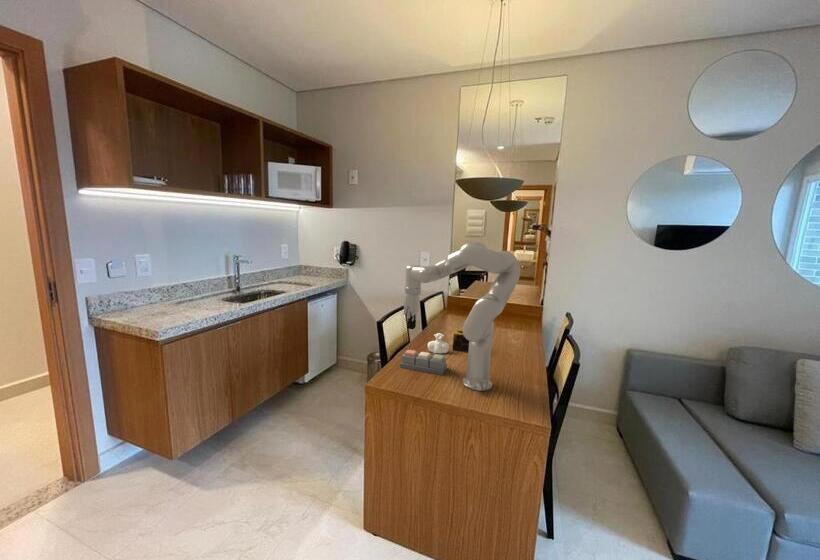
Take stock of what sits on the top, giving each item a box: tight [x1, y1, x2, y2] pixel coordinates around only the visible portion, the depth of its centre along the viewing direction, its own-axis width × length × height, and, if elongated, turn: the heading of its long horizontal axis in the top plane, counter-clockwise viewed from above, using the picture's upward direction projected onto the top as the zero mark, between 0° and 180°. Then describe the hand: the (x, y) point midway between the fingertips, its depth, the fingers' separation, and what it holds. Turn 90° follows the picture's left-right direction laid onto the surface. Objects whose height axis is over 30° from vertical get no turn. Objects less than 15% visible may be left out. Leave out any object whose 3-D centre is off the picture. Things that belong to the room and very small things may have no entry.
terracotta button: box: [404, 349, 417, 357], centre depth 164 cm, size 4×4×3 cm
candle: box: [451, 328, 469, 353], centre depth 190 cm, size 10×10×10 cm
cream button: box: [418, 351, 431, 360], centre depth 162 cm, size 4×4×3 cm
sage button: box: [432, 353, 445, 362], centre depth 159 cm, size 4×4×3 cm
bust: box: [427, 332, 450, 355], centre depth 184 cm, size 12×8×11 cm
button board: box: [399, 352, 448, 376], centre depth 162 cm, size 21×9×6 cm, turn 70°
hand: (411, 327), depth 162 cm, fingers closed
